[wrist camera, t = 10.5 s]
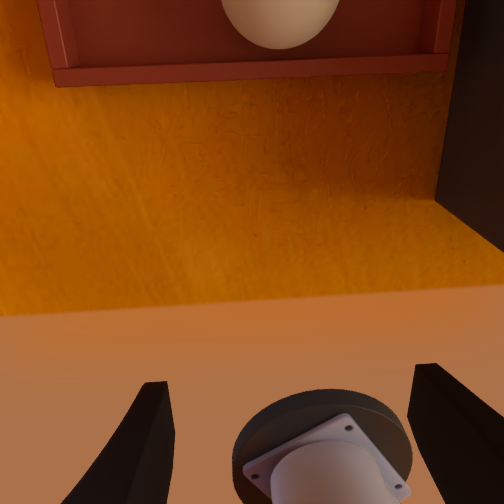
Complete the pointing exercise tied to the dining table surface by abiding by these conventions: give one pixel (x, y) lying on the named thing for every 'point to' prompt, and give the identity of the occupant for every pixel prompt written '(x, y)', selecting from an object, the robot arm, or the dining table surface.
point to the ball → (279, 20)
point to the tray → (236, 42)
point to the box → (477, 125)
